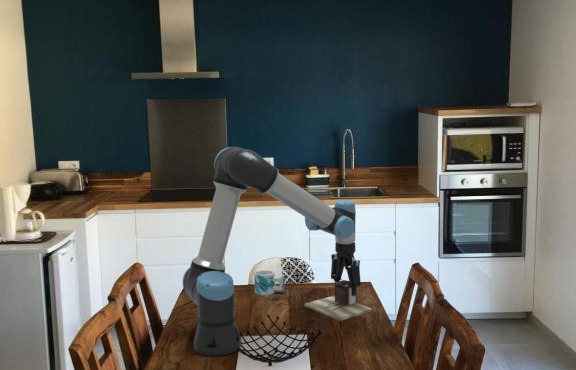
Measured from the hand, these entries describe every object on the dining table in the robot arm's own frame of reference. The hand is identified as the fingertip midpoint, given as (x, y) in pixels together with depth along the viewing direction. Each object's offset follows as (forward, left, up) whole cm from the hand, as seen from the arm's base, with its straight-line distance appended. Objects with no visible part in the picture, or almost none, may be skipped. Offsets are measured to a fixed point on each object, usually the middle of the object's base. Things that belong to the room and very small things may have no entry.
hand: (345, 300), depth 228 cm
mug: (-13, +32, -3) cm, 35 cm away
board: (-4, 0, -2) cm, 4 cm away
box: (0, 0, -1) cm, 1 cm away
